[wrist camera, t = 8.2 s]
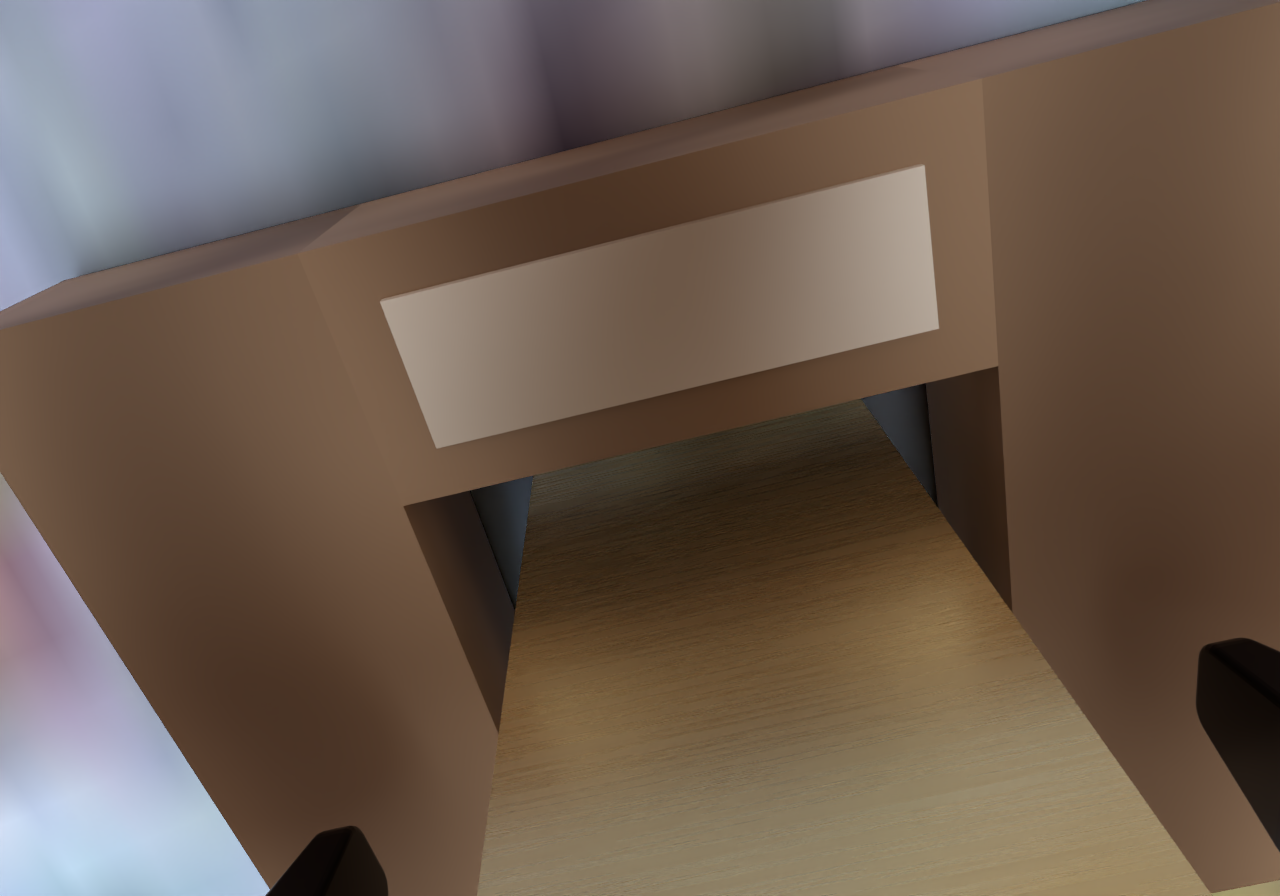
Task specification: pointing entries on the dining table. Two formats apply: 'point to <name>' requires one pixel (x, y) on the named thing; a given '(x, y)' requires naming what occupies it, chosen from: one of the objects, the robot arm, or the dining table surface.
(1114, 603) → the rack plate
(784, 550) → the peg block
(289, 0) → the dining table surface
